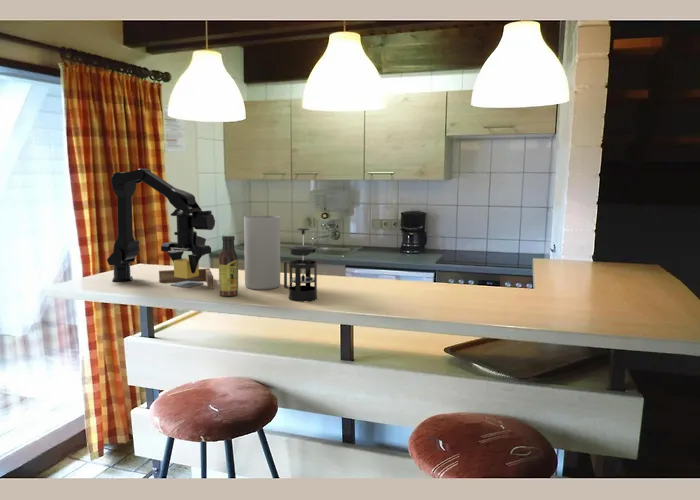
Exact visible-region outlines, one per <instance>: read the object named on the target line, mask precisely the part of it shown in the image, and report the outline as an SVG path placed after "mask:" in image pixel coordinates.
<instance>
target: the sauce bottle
mask: <svg viewBox="0 0 700 500" xmlns="http://www.w3.org/2000/svg"><path fill="white" fill-rule="evenodd" d="M235 239H236V237H235V235H233V234H227V235H226V234H223V235H222V236H221V240H222V250H221V252H220V254H219V256H218V290H219V295H220V296H221V297H233V296H237V295H238V293H239V259H238V254H237V252H236V250H235Z"/></svg>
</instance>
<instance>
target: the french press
mask: <svg viewBox="0 0 700 500" xmlns="http://www.w3.org/2000/svg"><path fill="white" fill-rule="evenodd" d="M296 230H297V231H301V235H302V244H299V245H290V246H288V248H289V249H290V255H291V256H292V255H293V256H299V257H302V259H294V260H290V261H288V260H286V261H284V263H283V288H284V289H285V290H287V289H288V290H289V292H288V293H289V294H288V299H289V301H292V302H298V301H299V303H300V302H301V303H305V302H304V301H308V302H312V300H314V301H316V300H317V299H318V298H317V297H318V288H317V287H318V286H317V285H318V283H317V282H318V273H317V272H318V262H317V261H316V260H312V259H304V258H305V257H306V256H309V255H310V254H311V253H312V254H313V253H316V250H317V249H318V247H317V246H315V245H309V244H308V245H307V244H304V243H305V238H304V237H305V234H306V231H309V230H311V229H310V228H307V227H301V228H300V227H299V228H296ZM288 266H289V286H288ZM293 269H295V270H294V271H295V273H294V274H295V275H294V277H293ZM301 269H302V271H301ZM304 269H305V271H304ZM311 269H313V270H314V274H313V275H314V276H311V274H312V273H311ZM301 272H302V273H301ZM304 272H305V274H304ZM301 274H302V275H301ZM293 283H294V284H295V285H293ZM311 283H313V284H314V285H311ZM302 284H304V285H302ZM315 299H316V300H315Z"/></svg>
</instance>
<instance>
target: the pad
mask: <svg viewBox="0 0 700 500" xmlns="http://www.w3.org/2000/svg"><path fill="white" fill-rule="evenodd" d="M200 285H201V286H202V285H204V282H200V281H195V280H190V281H178V282H175V283H171V284H170V286H172V287H178V288H187V289H190V288H194V287H196V286H200Z"/></svg>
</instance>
